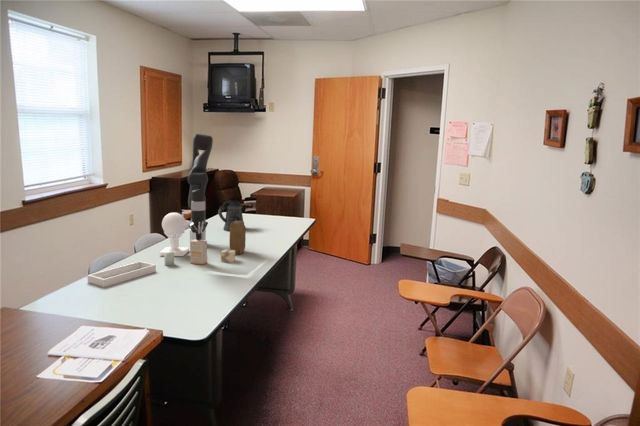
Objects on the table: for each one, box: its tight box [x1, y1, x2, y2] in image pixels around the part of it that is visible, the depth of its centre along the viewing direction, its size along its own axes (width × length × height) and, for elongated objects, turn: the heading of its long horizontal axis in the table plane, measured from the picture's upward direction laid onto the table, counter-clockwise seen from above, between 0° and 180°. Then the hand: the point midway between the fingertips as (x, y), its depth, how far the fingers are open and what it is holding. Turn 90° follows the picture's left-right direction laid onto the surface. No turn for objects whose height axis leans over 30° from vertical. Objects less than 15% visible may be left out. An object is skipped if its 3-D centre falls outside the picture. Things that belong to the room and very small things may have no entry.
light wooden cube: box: [220, 249, 236, 264], centre depth 238 cm, size 6×6×6 cm
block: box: [229, 220, 247, 255], centre depth 255 cm, size 11×8×20 cm
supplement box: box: [189, 239, 208, 266], centre depth 230 cm, size 8×5×13 cm, turn 71°
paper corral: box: [86, 260, 157, 288], centre depth 204 cm, size 12×29×4 cm, turn 152°
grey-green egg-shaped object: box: [163, 251, 175, 267], centre depth 226 cm, size 5×5×7 cm
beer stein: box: [217, 198, 246, 233], centre depth 311 cm, size 16×19×25 cm
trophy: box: [158, 212, 190, 257], centre depth 248 cm, size 14×14×25 cm
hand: (198, 239), depth 229 cm, fingers closed
